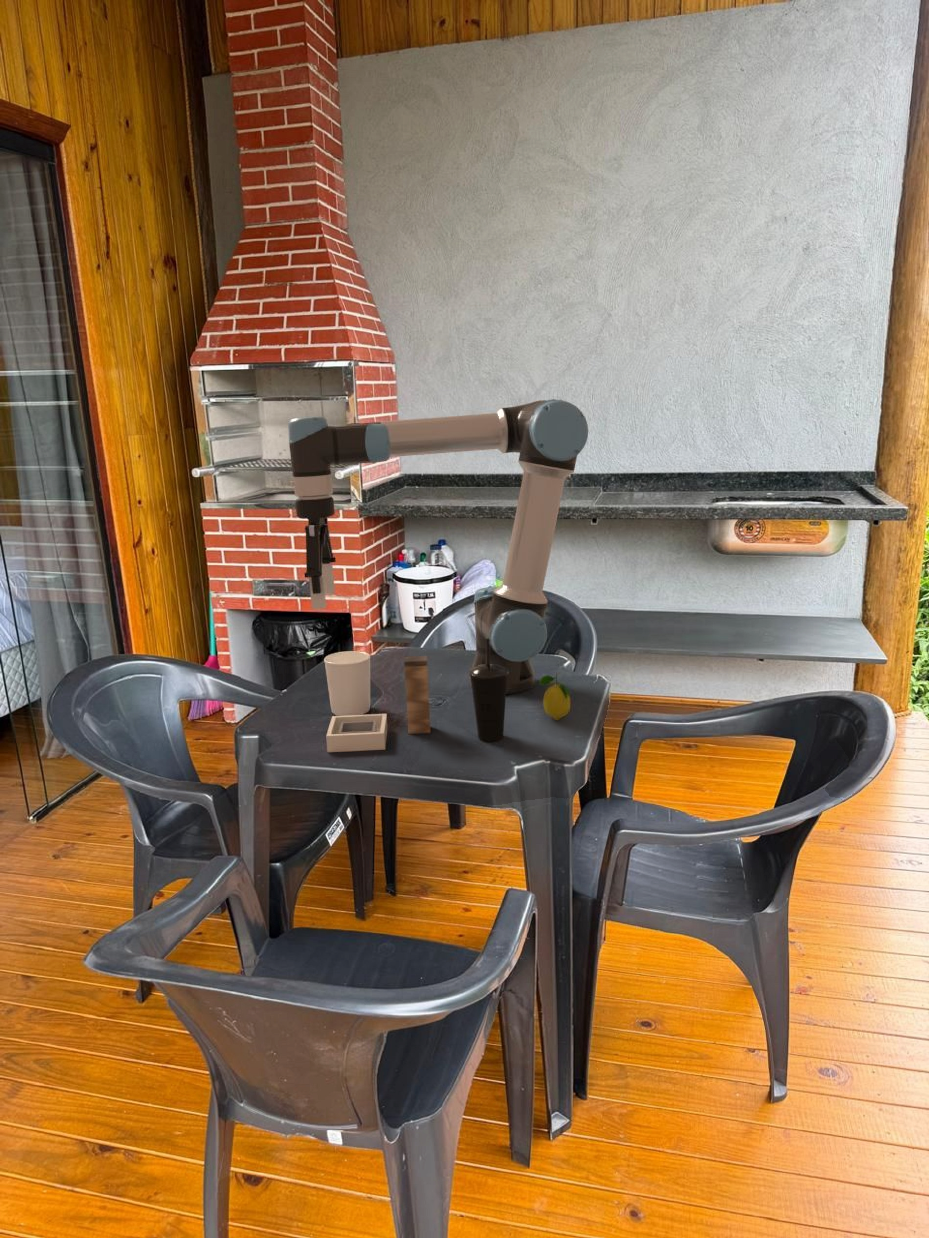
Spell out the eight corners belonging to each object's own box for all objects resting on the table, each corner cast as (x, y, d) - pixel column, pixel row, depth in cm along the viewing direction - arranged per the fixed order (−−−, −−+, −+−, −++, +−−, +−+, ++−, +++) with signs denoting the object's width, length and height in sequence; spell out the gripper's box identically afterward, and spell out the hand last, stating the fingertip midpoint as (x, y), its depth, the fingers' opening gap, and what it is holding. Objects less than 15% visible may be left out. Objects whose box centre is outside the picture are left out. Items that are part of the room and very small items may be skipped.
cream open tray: (387, 728, 180) (386, 713, 179) (385, 749, 169) (384, 733, 168) (333, 731, 179) (332, 716, 179) (327, 752, 169) (326, 736, 168)
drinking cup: (471, 730, 177) (468, 634, 172) (509, 730, 177) (507, 633, 172) (470, 745, 170) (466, 644, 165) (510, 744, 169) (507, 643, 164)
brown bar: (430, 726, 180) (426, 655, 177) (430, 732, 177) (426, 660, 173) (408, 727, 180) (404, 656, 177) (408, 733, 177) (404, 661, 173)
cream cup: (365, 719, 186) (361, 664, 183) (321, 717, 188) (317, 663, 185) (379, 703, 195) (375, 651, 192) (337, 702, 197) (333, 650, 194)
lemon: (539, 715, 184) (538, 669, 182) (566, 713, 185) (566, 667, 182) (544, 726, 178) (543, 679, 175) (573, 724, 178) (573, 677, 176)
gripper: (305, 491, 187) (314, 589, 192) (283, 505, 163) (295, 616, 168) (340, 489, 187) (349, 587, 192) (324, 503, 163) (334, 614, 168)
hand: (324, 601), depth 180 cm, fingers open, 13 cm apart
